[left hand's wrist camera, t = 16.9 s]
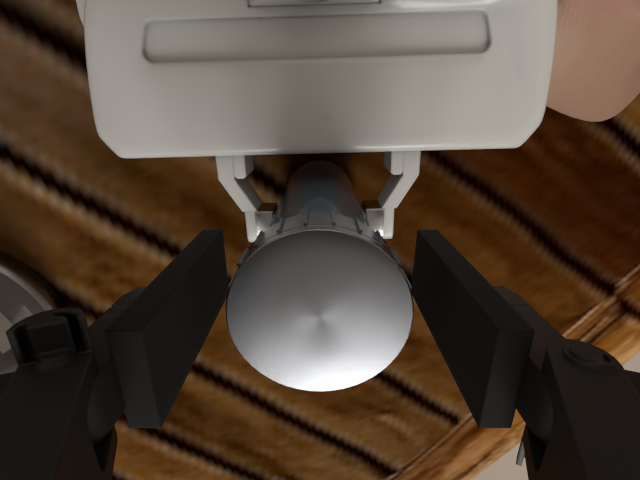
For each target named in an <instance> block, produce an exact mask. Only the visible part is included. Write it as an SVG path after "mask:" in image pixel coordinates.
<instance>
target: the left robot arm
mask: <svg viewBox="0 0 640 480" xmlns="http://www.w3.org/2000/svg"><path fill="white" fill-rule="evenodd" d="M228 290H229V289H228V279H227V269H226V260H225V250H224V240H223V230H202V231H201V232H200V233H199V234H198V235H197V236H196V237H195V238H194V239H193V240H192V242H191V243H190V244H189V245H188V246H187V247H186V248H185V249H184V250H183V251H182V252H181V253H180V254H179V255H178V256H177V257H176V258H175V259H174V260H173V261H172V262H171V263H170V264H169V265H168V266H167V267H166V268H165V269H164V270H163V271H162V272H161V273H160V274H159V275H158V276H157V277H156V278H155V279H154V280H153V281H152V282H151V283H150V284H149V285H148V287H147V288H136V289H134V290H132V291H130V292H129V293H127V294H125V295H123V296H122V297H121V298H119V299H118V300H117V301H116V302H115V303H114V304H113V305H112V308H109V309H108V310H107V311H106V312H105V313H103V316H100V317H99V318H98V319H97V320H96V321H95V322H94V323H93V324H92V325H91V326H90V327H89V328H88V326H87V322H86V319H85V315H84V312H83V311H81V310H79V309H77V308H69V307H68V308H67V307H66V306H65V304H64V303H63V301H62V300H61V298H60V297H59V296H58V295H57V293H56V292H55V291H54V290H53V289H52V288H51V287H50V286H49V285H48V284H47V283H46V282H45V281H44V280H43V279H42V278H41V277H39V276H38V275H37V274H36V273H34V272H33V271H32V270H30V269H29V268H28V267H26V266H24V265H23V264H21V263H20V262H18V261H16V260H14V259H12V258H10V257H8V256H6V255H4V254H2V253H0V480H111V479H112V473H113V467H114V460H115V454H116V447H117V441H118V440H117V433H116V429H115V423H116V422H117V420H118V419H119V417H120V415H121V414H122V412H123V411H124V409H125V413H126V417H127V421H128V425H129V428H161V427H162V425H163V423H164V421H165V419H166V417H167V415H168V413H169V411H170V409H171V407H172V405H173V403H174V401H175V399H176V397H177V395H178V393H179V391H180V389H181V387H182V385H183V383H184V381H185V379H186V377H187V375H188V373H189V371H190V369H191V367H192V365H193V363H194V361H195V359H196V357H197V355H198V353H199V351H200V349H201V347H202V345H203V343H204V341H205V339H206V337H207V335H208V333H209V331H210V329H211V327H212V325H213V323H214V321H215V319H216V317H217V315H218V313H219V311H220V309H221V307H222V305H223V303H224V301H225V299H226V297H227V295H228ZM411 293H412V295H413V297H414V299H415V301H416V303H417V305H418V307H419V309H420V311H421V313H422V315H423V317H424V319H425V321H426V323H427V325H428V327H429V329H430V331H431V333H432V335H433V337H434V339H435V341H436V343H437V345H438V347H439V349H440V351H441V353H442V355H443V357H444V359H445V361H446V363H447V365H448V367H449V369H450V371H451V373H452V375H453V377H454V379H455V381H456V383H457V385H458V387H459V389H460V391H461V393H462V395H463V397H464V399H465V401H466V403H467V405H468V407H469V409H470V411H471V413H472V415H473V417H474V419H475V421H476V423H477V425H478V427H479V428H511V425H512V421H513V417H514V413H515V409H517V411H518V412H519V414H520V415H521V417H522V418H523V420H524V421H525V423H526V425H525V429H524V433H523V436H522V440H521V444H520V447H519V451H518V455H517V460H516V464H517V465H520V466H521V465H522V462H523V458H524V457H525V459H526V465H527V472H528V478H529V480H640V373H638V372H633V371H628V370H624V368H623V367H622V365H621V364H620V363H619V362H618V361H617V360H616V359H615V358H614V357H613V356H611V355H610V354H608V353H607V352H605V351H604V350H602V349H600V348H598V347H595V346H593V345H591V344H588V343H585V342H581V341H578V340H572V339H565V338H564V337H563V336H562V335H561V334H560V333H559V332H558V331H557V330H555V329H554V328H553V327H552V326H551V325H550V324H549V323H548V322H547V321H546V320H545V319H544V318H543V317H541V316H540V315H537V312H536V311H535V310H534V309H533V308H532V307H531V306H529V304H528V303H526V302H525V301H524V300H523V299H522V298H521V297H520V296H519V295H518V294H516V293H514V292H512V291H510V290H508V289H506V288H505V287H503V286H492V285H491V284H490V283H489V282H488V281H487V280H486V279H485V278H484V277H483V276H482V275H481V274H480V273H479V272H478V271H477V270H476V269H475V268H474V267H473V266H472V265H471V264H470V263H469V262H468V261H467V260H466V259H465V258H464V257H463V256H462V255H461V254H460V253H459V252H458V251H457V250H456V249H455V248H454V247H453V246H452V245H451V244H450V243H449V242H448V240H447V239H446V238H445V237H444V236H443V235H442V234H441V233H440V232H439V231H438V230H417V240H416V250H415V260H414V269H413V279H412V289H411Z"/></svg>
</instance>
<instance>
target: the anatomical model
mask: <svg viewBox="0 0 640 480" xmlns="http://www.w3.org/2000/svg"><path fill="white" fill-rule="evenodd" d="M639 93H640V0H558V14H557V29H556V41H555V50H554V59H553V67H552V74H551V81H550V87H549V93H548V99H547V104H546V106H547V107H549V108H551V109H554V110H556V111H558V112H560V113H563V114H565V115H568V116H570V117H573V118H577V119H580V120H585V121H591V122H598V121H603V120H607V119H610V118H612V117H614V116H615V115H617V114H618V113H619V112H621V111H622V110H623V109H624V108H625V107H626V106H627V105H628V104H629V103H630V102H631V101H632V100H633V99H634V98H635V97H636V96H637V95H638V94H639Z"/></svg>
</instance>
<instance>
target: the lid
mask: <svg viewBox="0 0 640 480" xmlns="http://www.w3.org/2000/svg"><path fill="white" fill-rule="evenodd" d="M237 266H238V267H239V268H238V269H237V270H236V272H235V274H234V276H233V278H232V280H231V281H230V283H229V285H228V288H229V290H228V295H227V299H226V320H227V325H228V330H229V333H230V335H231V338H232V340H233V342H234V344H235V346H236V348H237V350H238V351H239V352H240V354H241V355H242V356H243V358H244V359H245V360H246V361H247V362H248V363H249V364H250V365H251V366H252V367H253V368H254V369H256V370H257V371H258V372H259V373H261V374H262V375H264V376H266V377H267V378H269V379H271V380H273V381H275V382H277V383H279V384H282V385H285V386H287V387H291V388H295V389H299V390H306V391H334V390H340V389H345V388H348V387H352V386H355V385H358V384H360V383H363V382H365V381H367V380H369V379H370V378H372V377H374V376H376V375H377V374H378V373H380V372H381V371H383V370H384V369H385V368H386V367H387V366H388V365H390V364H391V363H392V362H393V360H394V359H395V358H396V357H397V356H398V355H399V353H400V351H401V350H402V348H403V347H404V345H405V343H406V341H407V339H408V337H409V334H410V330H411V327H412V322H413V316H414V304H413V298H412V293H411V289H410V288H411V284H410V282H409V281H408V279H407V277H406V275H405V273H404V271H403V269H402V268H401V267H400V266H402V263H401V261H400V259H399V257H398V255H397V254H396V252H395V250H394V248H392V249H390V247H389V246H388V244H387V243H386V242H385V241H384V239H383V238H382V236H381V234H380V232H379V231H378V230H377V231H376V232H375V231H374V230H373V229H371V228H370V227H368V226H367V225H365V224H363V223H362V222H360V220H359V218H357V217H356V218H355V219H353V218H350V217H347V216H344V215H340V214H335V212H334V211H331V213H327V212H313V213H309V212H308V211H305V213H304V214H300V215H295V216H292V217H289V218H287V219H284V218H280V221H279V222H278V223H276V224H274V225H273V226H271V227H270V228H268V229H267V230H265V231H264V232H263V231H262V230H261V231H260V232H259V234H258V236H257V238H256V240H255V241H254V242H253V244H252V245H251V246H250V248H249V249H247V248H246V249H245V251H244V253H243V254H242V256H241V258H240V260H239V262H238V264H237Z"/></svg>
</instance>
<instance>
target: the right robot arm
mask: <svg viewBox="0 0 640 480" xmlns="http://www.w3.org/2000/svg"><path fill="white" fill-rule="evenodd" d="M76 3H77V7H78V12H79V16H80V19H81V22H82V24H83V26H84V36H85V52H86V64H87V73H88V82H89V90H90V96H91V103H92V109H93V115H94V121H95V125H96V129H97V132H98V135H99V137H100V138H101V139H102V140H103V141H104V142H105V144H106V145H107V146H108V147H109V148H110V149H111V150H112V151H113V152H114V153H115V154H117V155H118V156H119V157H121V158H161V157H199V156H216V164H217V172H218V180H219V181H220V182H221V184H222V185H223V186H224V188H225V189H226V190H227V192H228V193H229V194H230V196H231V197H232V198H233V200H234V201H235V203H236V204H237V205H238V207H239V208H240V209H241V211H242V212H245V218H246V227H247V237H248V240H249V242H254V241H255V240H256V238H257V236H258V234H259V232H260V231H261V230H262V231H263V232H264V231H265V230H267V229H268V228H269V225H270V223H271V221H272V219H273V216H274V214H275V212H276V209H277V203H263V202H262V201H261V199H260V198H259V196H258V194H257V193H256V191H255V190H254V188H253V187H252V185H251V184H250V182H249V181H248V179H247V178H246V176H248V175H249V174H250V173H251V172H252V171H253V170H254V166H253V155H273V154H311V153H348V152H384V167H385V168H386V169H387V170H388V171H390V172H391V175H390V177H389V179H388V180H387V182H386V184H385V185H384V187H383V189H382V190H381V192H380V194H379V196H378V197H377V200H369V201H362V208H363V210H364V212H365V214H366V217H367V219H368V221H369V224H370V226H371V228H372V229H373V230H374V231H375V232H376V231H377V230H378V231H379V232H380V234H381V236H382V238H383V239H391V238H392V236H393V223H394V208H397V207H398V205H399V204H400V202H401V201H402V199H403V198H404V196H405V195H406V193H407V192H408V190H409V189H410V187H411V186H412V184H413V183H414V181H415V180H416V178H417V177H418V175H419V167H420V154H421V151H423V150H460V149H497V148H517V147H519V146H521V145H522V144H523V143H524V142H525V141H526V140H527V139H528V138H529V137H530V136H531V135H532V133H533V132H534V131H535V130H536V129H537V128H538V126H539V125H540V123H541V122H542V119H543V116H544V113H545V108H546V104H547V99H548V93H549V87H550V81H551V74H552V67H553V59H554V50H555V41H556V29H557V14H558V0H76Z"/></svg>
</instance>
